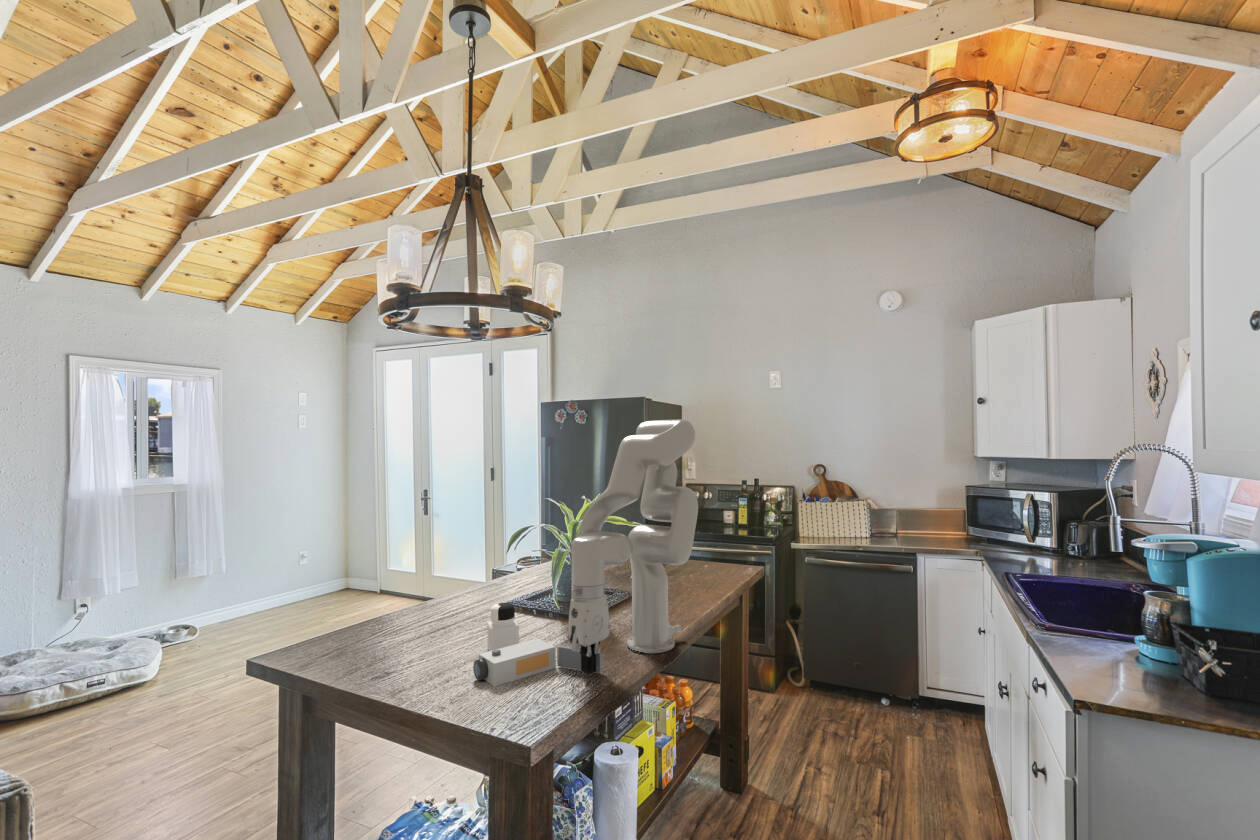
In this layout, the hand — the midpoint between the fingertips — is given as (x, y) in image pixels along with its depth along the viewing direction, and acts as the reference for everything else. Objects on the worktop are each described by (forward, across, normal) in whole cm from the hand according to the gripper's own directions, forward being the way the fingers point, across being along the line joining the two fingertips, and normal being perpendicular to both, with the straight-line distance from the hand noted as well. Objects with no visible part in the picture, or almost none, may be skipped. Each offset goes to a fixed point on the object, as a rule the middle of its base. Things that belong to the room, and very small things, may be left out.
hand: (588, 671), depth 135 cm
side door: (+1, +2, +5) cm, 5 cm away
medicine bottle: (+2, +1, +30) cm, 30 cm away
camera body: (+1, -6, +16) cm, 18 cm away
